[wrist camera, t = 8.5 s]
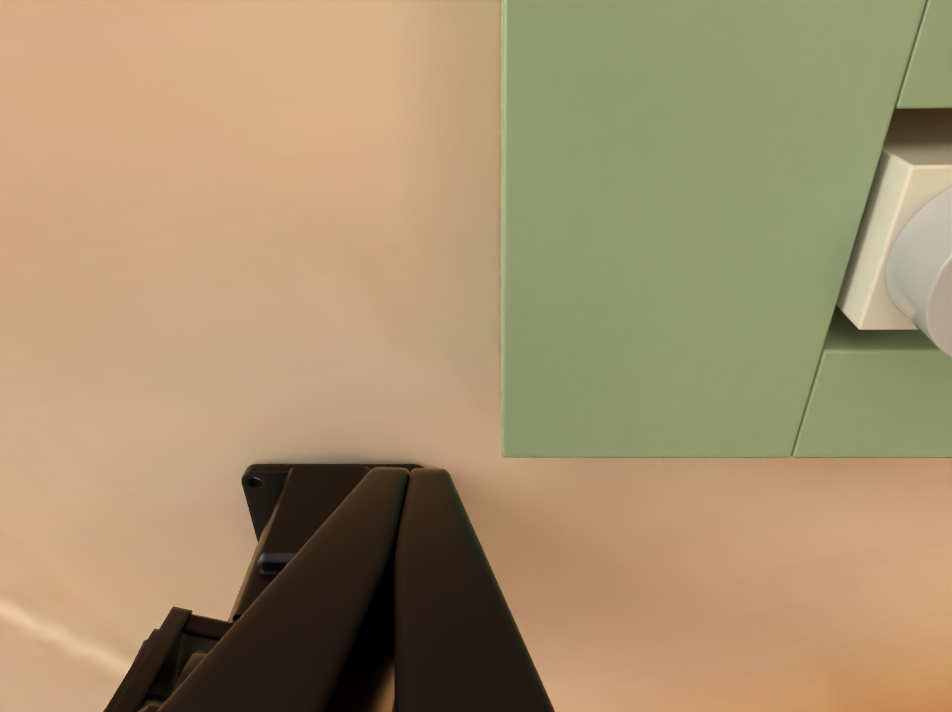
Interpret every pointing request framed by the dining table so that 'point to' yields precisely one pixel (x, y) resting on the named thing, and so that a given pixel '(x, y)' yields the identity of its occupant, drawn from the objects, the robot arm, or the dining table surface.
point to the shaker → (906, 233)
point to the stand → (707, 228)
